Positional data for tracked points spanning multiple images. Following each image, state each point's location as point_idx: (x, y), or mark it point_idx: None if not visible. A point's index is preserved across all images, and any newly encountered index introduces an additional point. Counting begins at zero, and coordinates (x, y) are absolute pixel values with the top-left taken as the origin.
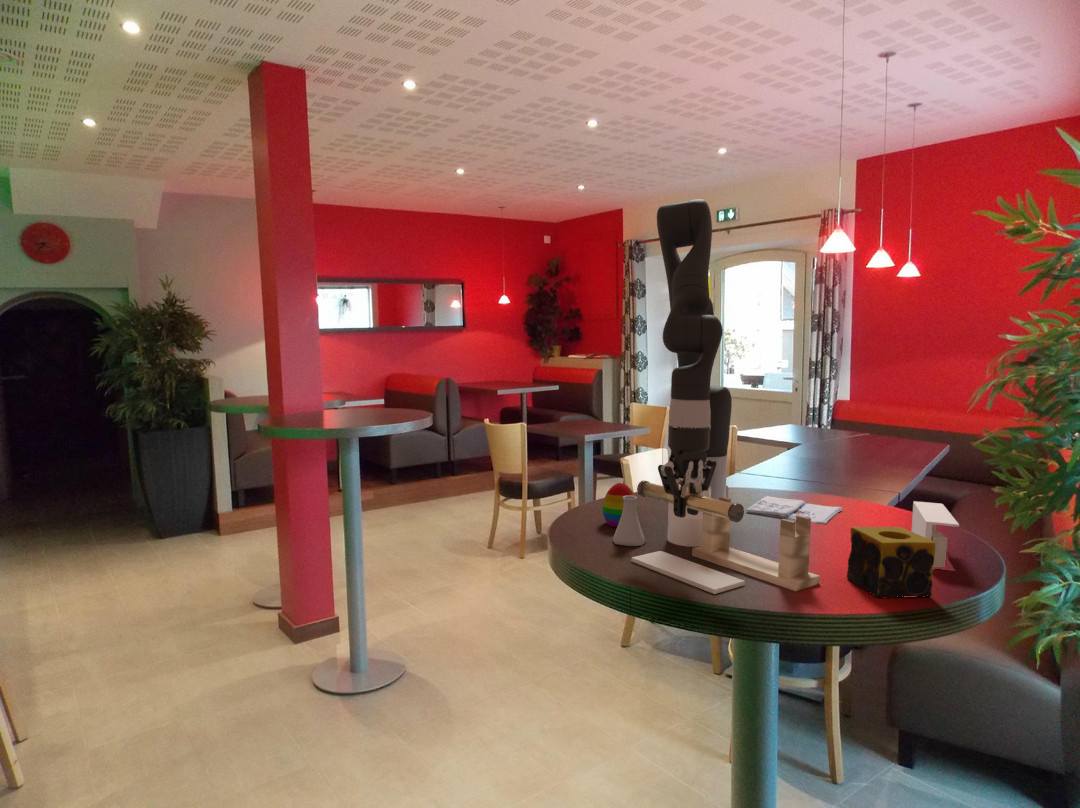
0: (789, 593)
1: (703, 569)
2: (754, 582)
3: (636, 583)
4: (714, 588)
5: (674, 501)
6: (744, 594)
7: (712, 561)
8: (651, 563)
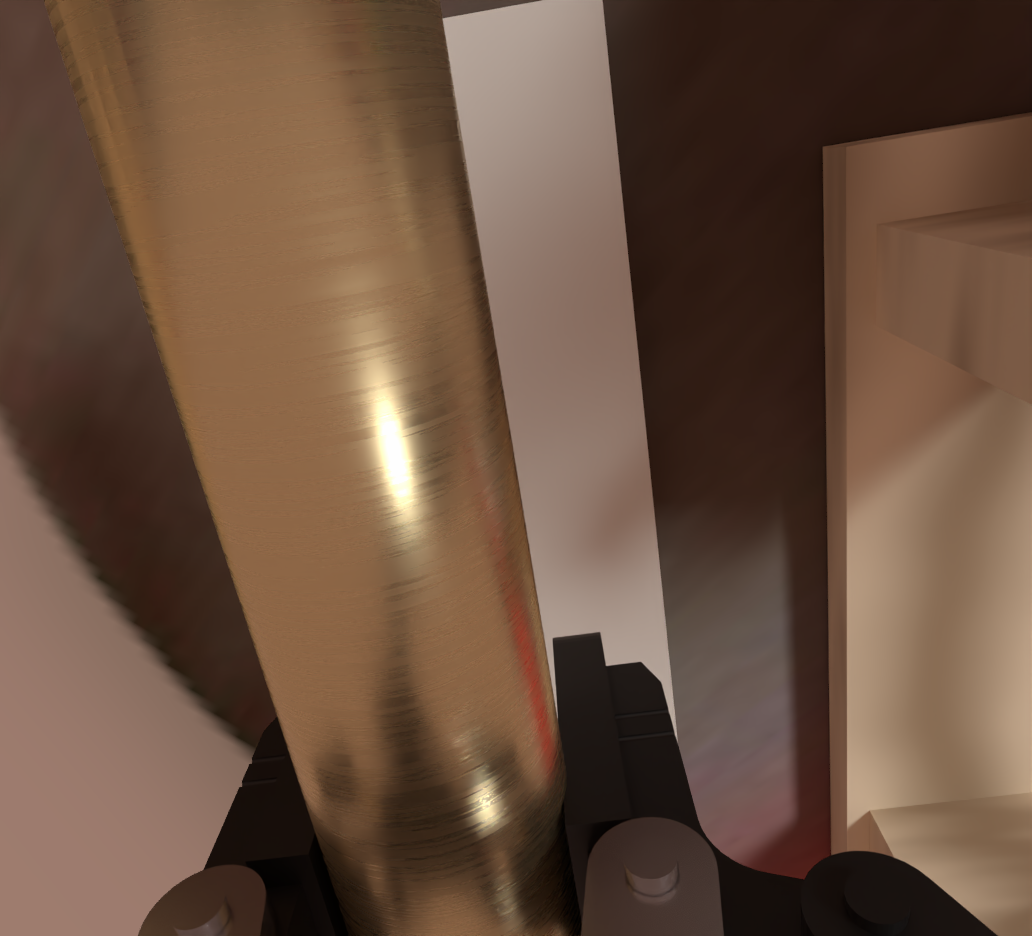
0: (782, 871)
1: (598, 521)
2: (758, 718)
3: (93, 477)
4: None
5: (226, 846)
6: None
7: (827, 361)
8: None
